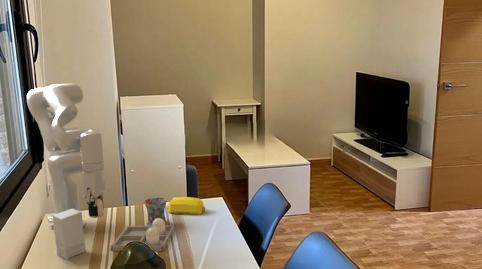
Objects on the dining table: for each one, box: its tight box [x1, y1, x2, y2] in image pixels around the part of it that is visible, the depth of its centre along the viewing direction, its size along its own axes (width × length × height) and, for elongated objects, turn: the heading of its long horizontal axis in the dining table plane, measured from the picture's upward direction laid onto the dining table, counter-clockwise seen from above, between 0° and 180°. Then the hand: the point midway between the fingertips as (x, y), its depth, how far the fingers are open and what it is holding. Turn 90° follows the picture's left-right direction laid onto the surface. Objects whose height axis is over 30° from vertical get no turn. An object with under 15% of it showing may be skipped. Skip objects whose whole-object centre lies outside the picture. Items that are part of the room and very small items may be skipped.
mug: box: [143, 197, 168, 226], centre depth 193 cm, size 12×9×11 cm
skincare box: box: [51, 209, 87, 260], centre depth 167 cm, size 8×7×16 cm
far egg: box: [146, 227, 160, 246], centre depth 172 cm, size 5×5×7 cm
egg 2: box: [152, 218, 166, 235], centre depth 181 cm, size 5×5×7 cm
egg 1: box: [89, 198, 105, 219], centre depth 170 cm, size 5×5×7 cm
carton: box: [110, 225, 176, 252], centre depth 177 cm, size 19×19×2 cm
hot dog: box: [166, 196, 206, 216], centre depth 206 cm, size 18×7×8 cm
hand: (96, 212), depth 171 cm, fingers closed on egg 1, 4 cm apart
